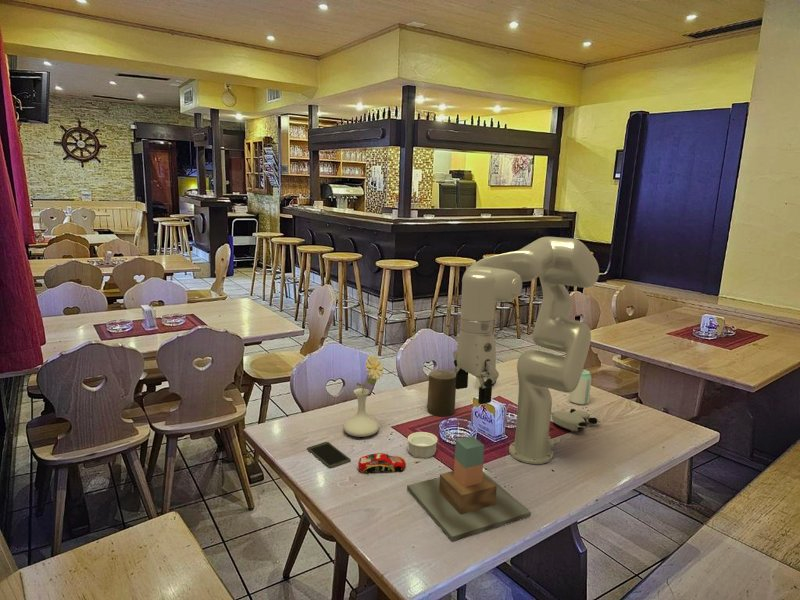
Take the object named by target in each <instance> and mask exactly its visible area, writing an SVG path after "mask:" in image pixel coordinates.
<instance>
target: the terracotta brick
mask: <svg viewBox="0 0 800 600" xmlns="http://www.w3.org/2000/svg"><path fill="white" fill-rule="evenodd" d="M453 471H454V478H455V479H456V480H457V481H459V482H460V483H461V484H462V485H463V486H464V487H468V486H472V485H476V484H479V483H482V476H483V472H484V463H483V464H482V465H478V466H473V467H469V468H464V467H463V466H462V465H461V464H460V463H459V462H458V461H457V460H456V459H455V458H454V466H453Z"/></svg>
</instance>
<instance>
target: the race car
mask: <svg viewBox="0 0 800 600" xmlns="http://www.w3.org/2000/svg"><path fill="white" fill-rule="evenodd" d="M406 465H407V463H406V460H405V459H404V458H402V457H400V456H397V455H396V456H395V455H389V454H388V453H383V452H382V453H379V452H378V453H372V454H366V455H363V456H361V457H359V459H358V464H357V466H358V470H359V472H361V473H366V474H368V475H369V474H374V473H393V472H395V473H401V472H402V471H404V470H405V469H406Z"/></svg>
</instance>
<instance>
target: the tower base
mask: <svg viewBox="0 0 800 600" xmlns="http://www.w3.org/2000/svg"><path fill="white" fill-rule="evenodd" d="M406 489H407V491H408V493H409V494H410V495H411V496H412V497H413V498H414V499H415V500H416V502H417V503H418V504H419V505H420V507H422V509H423V510H424V511H425V512H426V513H427V514H428V516H430V518H431V519H432V520H433V521H434V523H435V524H436V526H438V527H439V529H440V530H441V531H442V532H443V533H444V534H445V535H446V537H447V538H449V540H450V541H451V542H454V541H455V542H456V541H458V540H461V539H465V538H468V537H470V536H474V535H477V534H480V533H483V532H486V531H489V530H493V529H495V528H496V529H497V528H499V527H502V526H506V525H509V524H511V522H512V523H514V522H518V521H521V520H524V519H527V517H528V518H530V516H532V515H531V514H532V511H531V510H529V509H528V508H527V507H526V506H525V505H523V504H522V503H521V502H520V501H519V500H517V499H516V498H515V497H514V496H513V495H511V494H510V492H508V491H507V490H505V489H504V488H503V487H502V486H501V485H500V484H499V483H497V482H496V481H495V480H494V479H493V478H492V477H490V476H489V475H488V474H486V472H484V471H483V476H482V483H479V484H476V485H472V486H468V487H464V486H463V485H462V484H461V483H460V482H459V481H457V480H456V479H455V478H454V470H451V471H447V472H444V473H440V474H439V477H434V478H431V479H427V480H424V481H419V482H416V483H415V482H414V483H411V484H408V485H407V486H406ZM523 518H524V519H523ZM520 519H521V520H520ZM508 523H509V524H508ZM505 524H506V525H505Z"/></svg>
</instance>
